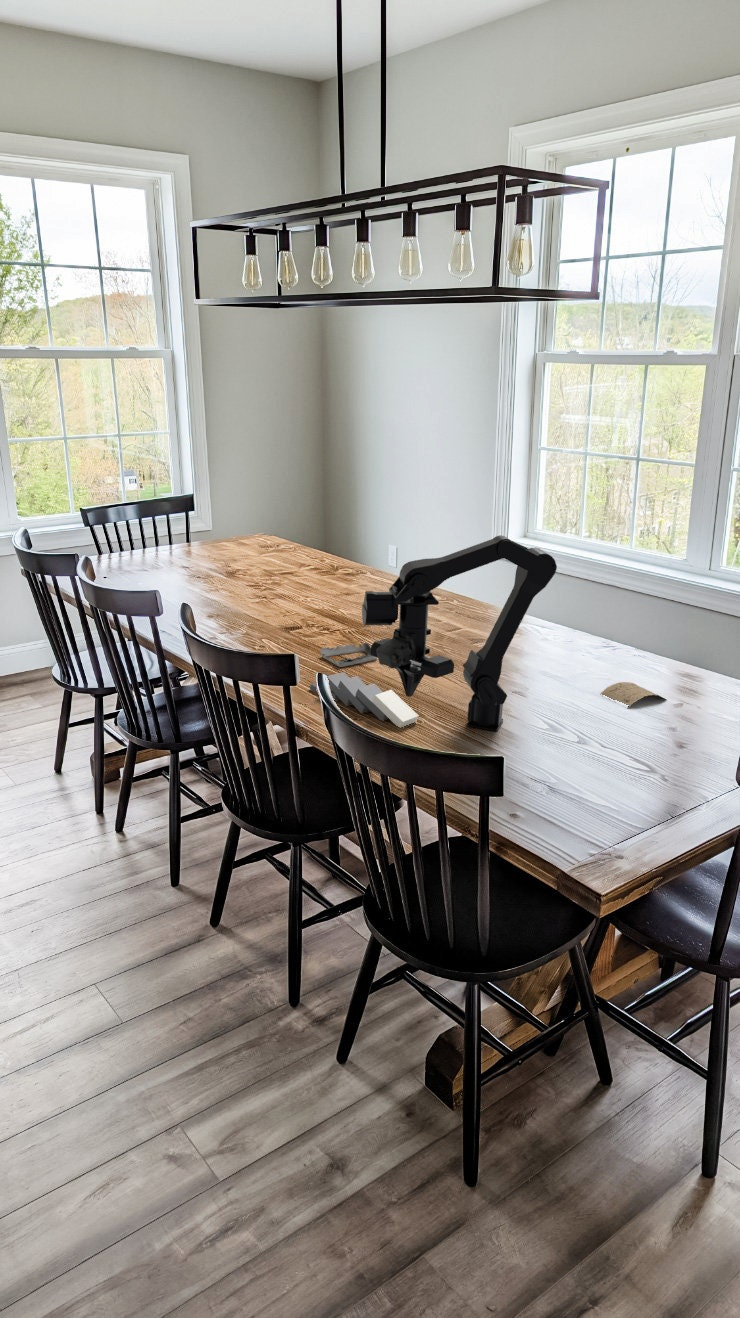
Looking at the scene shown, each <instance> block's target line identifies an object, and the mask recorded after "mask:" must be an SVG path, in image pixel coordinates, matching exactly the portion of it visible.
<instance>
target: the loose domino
mask: <svg viewBox="0 0 740 1318" xmlns="http://www.w3.org/2000/svg"><path fill="white" fill-rule="evenodd" d="M372 702H373V703H374V704H375V705H376V706H377V707H378V708H379V709H380V710H381V711H382V712H383V713H384V714H385V715H386V716H387V717H388V718H389V719H388V720H390V721H391V722H392V723H393V724H394V725H395V726H396V727H397V726H398V727H403V726H406V725H408V726H410V725H409V724H411V723H414V722H416V723H417V720H418V718H419V716H420V715H419V714H418V713H416V712H415V710H413V709H412V708H411V707H410V706H409V705H408V704H407V703H406V702H405V701H404V700H403V699H402V698H401V697H399V695H397V693H395V692H394V690H393V689H389V690H386V691H383V693H380V694H377V695H375V697H374V699H373V701H372ZM414 724H415V723H414ZM411 725H412V724H411ZM398 727H397V728H398ZM406 727H407V726H406ZM403 728H404V727H403Z"/></svg>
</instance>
